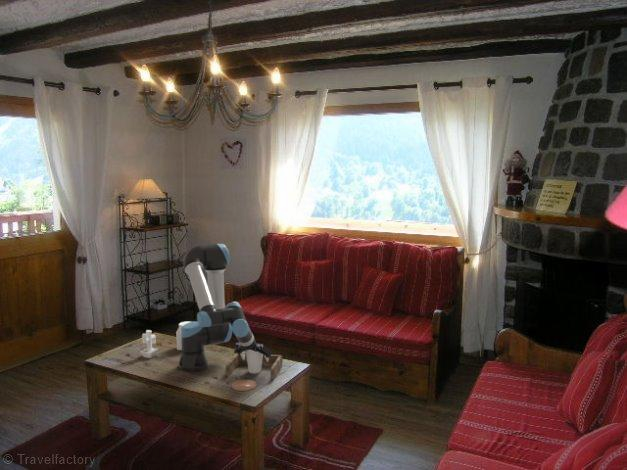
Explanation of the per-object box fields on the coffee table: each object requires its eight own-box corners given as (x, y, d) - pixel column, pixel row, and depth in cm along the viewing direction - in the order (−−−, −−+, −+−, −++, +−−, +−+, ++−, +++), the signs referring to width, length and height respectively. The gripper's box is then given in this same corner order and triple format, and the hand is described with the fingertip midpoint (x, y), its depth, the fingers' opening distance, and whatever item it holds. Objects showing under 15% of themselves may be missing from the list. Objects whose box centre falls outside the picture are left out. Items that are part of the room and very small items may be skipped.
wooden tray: (237, 362, 274) (237, 352, 273) (282, 366, 270) (282, 355, 269) (226, 376, 257) (225, 364, 256) (273, 379, 252) (273, 368, 252)
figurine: (160, 354, 286) (159, 328, 284) (149, 360, 278) (148, 333, 276) (150, 352, 289) (148, 327, 287) (138, 358, 280) (137, 332, 278)
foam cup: (254, 366, 270) (253, 342, 268) (267, 370, 265) (267, 346, 263) (242, 372, 262) (241, 347, 260) (255, 376, 257) (255, 351, 255)
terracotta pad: (236, 379, 253) (236, 378, 253) (259, 381, 251) (259, 380, 250) (228, 389, 241) (228, 388, 241) (252, 391, 239) (252, 390, 239)
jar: (173, 349, 295) (172, 324, 293) (184, 344, 303) (184, 319, 301) (189, 352, 290) (188, 327, 288) (200, 347, 298) (199, 322, 296)
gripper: (221, 345, 248) (232, 363, 265) (269, 348, 244) (277, 366, 261) (224, 331, 252) (235, 350, 269) (272, 334, 248) (279, 353, 265)
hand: (256, 358), depth 265 cm, fingers open, 12 cm apart
